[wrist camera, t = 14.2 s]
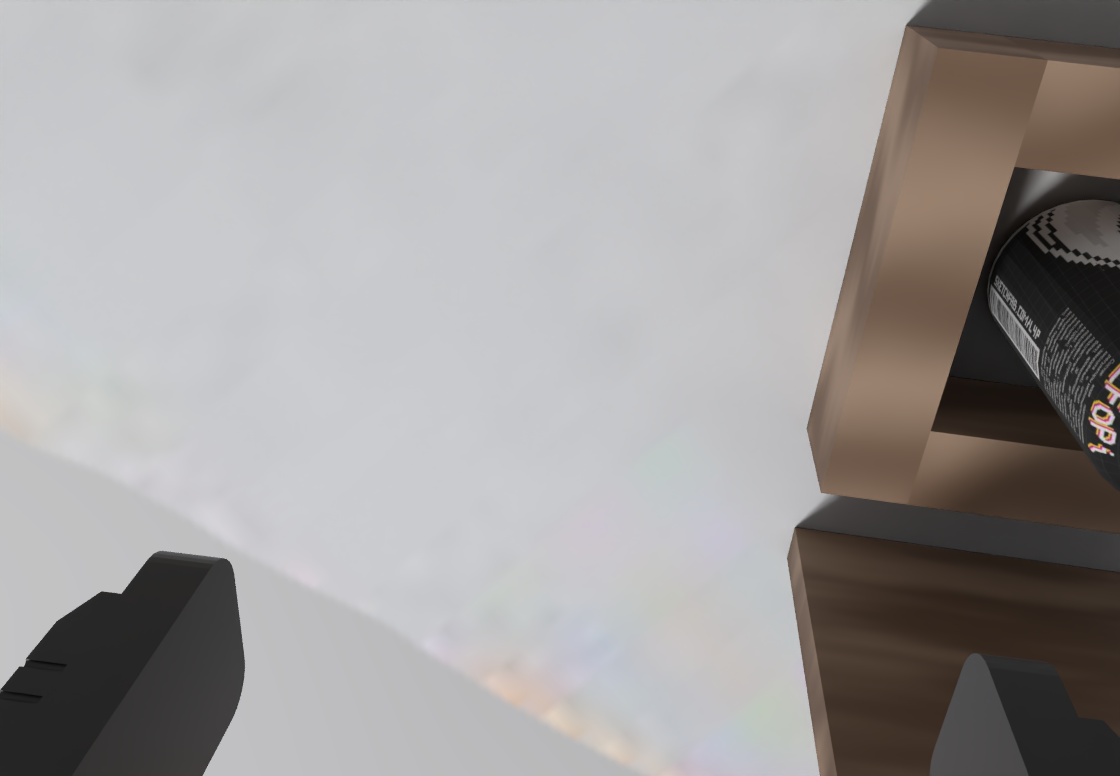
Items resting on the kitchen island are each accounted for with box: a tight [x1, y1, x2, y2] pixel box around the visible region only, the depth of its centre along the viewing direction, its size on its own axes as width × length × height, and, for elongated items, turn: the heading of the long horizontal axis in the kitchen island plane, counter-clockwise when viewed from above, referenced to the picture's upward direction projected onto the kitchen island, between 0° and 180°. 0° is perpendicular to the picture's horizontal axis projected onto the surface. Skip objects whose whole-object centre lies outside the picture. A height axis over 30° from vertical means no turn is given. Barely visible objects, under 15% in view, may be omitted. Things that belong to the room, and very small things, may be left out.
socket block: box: [807, 25, 1120, 534], centre depth 32 cm, size 15×15×4 cm
